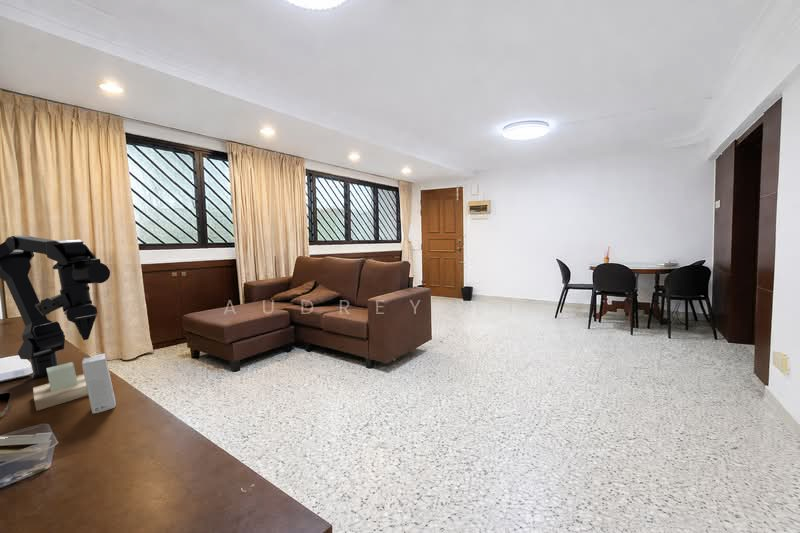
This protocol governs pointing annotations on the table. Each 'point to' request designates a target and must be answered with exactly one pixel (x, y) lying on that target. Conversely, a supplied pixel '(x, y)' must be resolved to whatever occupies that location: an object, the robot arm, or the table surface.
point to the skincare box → (98, 383)
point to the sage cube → (62, 376)
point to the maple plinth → (59, 394)
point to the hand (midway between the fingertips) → (84, 336)
